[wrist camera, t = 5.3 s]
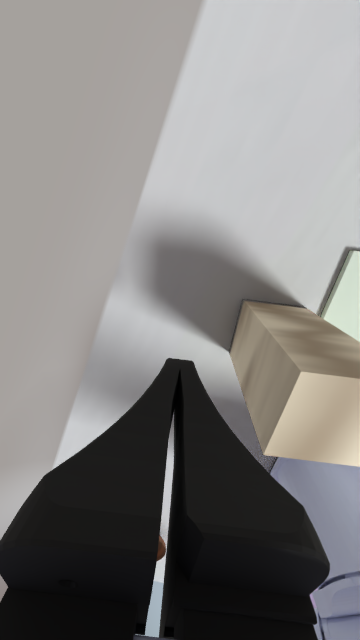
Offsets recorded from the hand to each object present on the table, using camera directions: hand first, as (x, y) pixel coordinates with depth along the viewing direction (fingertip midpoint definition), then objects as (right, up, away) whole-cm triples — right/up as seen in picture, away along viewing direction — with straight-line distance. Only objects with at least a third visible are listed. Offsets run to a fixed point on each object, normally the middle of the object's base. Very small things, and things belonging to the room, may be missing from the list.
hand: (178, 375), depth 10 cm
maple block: (+7, +2, +6) cm, 10 cm away
